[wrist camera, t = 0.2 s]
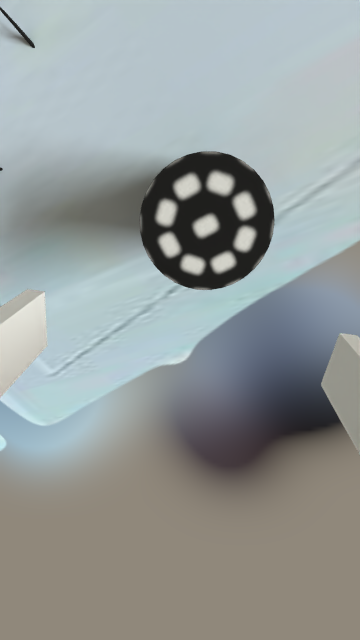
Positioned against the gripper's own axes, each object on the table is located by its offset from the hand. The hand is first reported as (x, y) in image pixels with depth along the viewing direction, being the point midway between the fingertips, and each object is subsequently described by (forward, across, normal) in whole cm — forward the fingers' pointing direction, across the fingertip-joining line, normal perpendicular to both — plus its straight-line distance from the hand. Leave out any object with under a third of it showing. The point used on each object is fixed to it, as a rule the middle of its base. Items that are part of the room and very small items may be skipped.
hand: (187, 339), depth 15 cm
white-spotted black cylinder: (+28, 0, +4) cm, 28 cm away
